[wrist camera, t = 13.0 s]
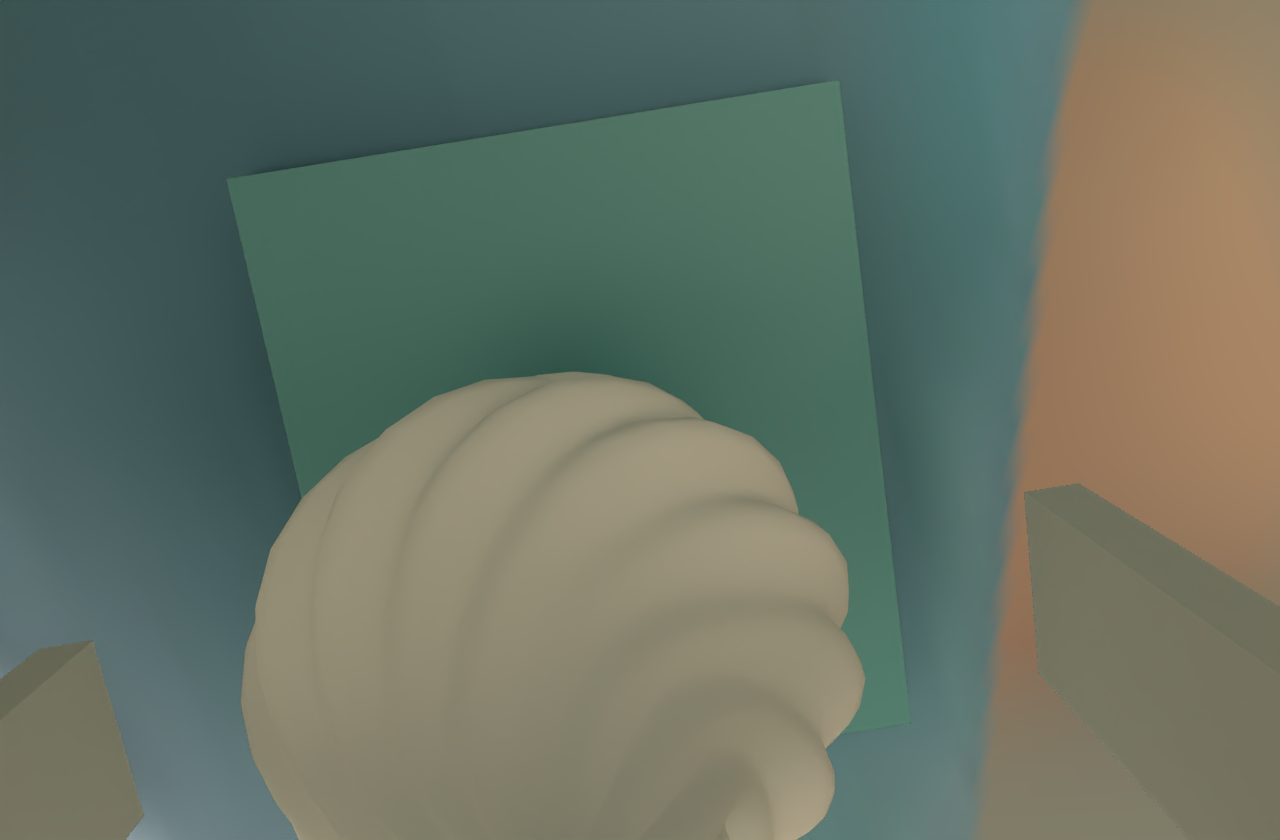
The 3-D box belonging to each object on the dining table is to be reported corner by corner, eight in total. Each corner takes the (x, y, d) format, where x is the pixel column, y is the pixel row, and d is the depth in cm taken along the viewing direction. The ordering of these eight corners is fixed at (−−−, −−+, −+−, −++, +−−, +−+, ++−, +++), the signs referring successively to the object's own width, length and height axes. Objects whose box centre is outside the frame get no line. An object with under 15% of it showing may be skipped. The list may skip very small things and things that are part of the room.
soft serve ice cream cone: (384, 599, 26) (26, 1226, 10) (438, 264, 24) (111, 381, 8) (715, 658, 26) (870, 1337, 10) (789, 334, 24) (1107, 567, 9)
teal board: (248, 180, 25) (226, 179, 23) (825, 87, 25) (839, 79, 23) (386, 776, 28) (374, 808, 27) (895, 696, 28) (911, 723, 27)
